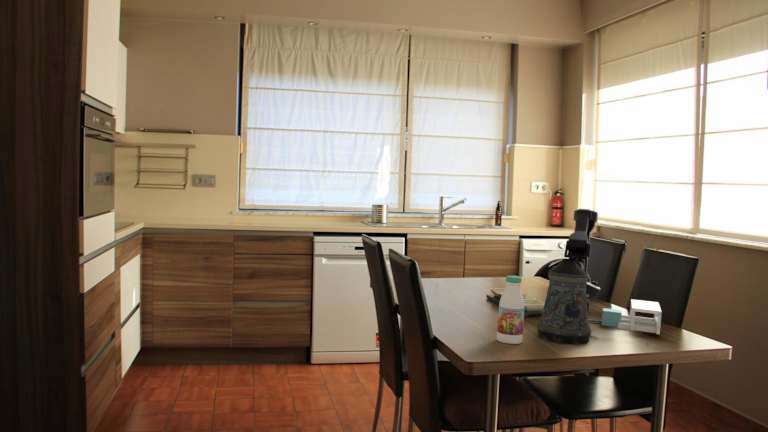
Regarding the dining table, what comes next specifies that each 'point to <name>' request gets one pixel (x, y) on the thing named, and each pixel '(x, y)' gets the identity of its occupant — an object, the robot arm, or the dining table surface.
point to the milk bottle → (511, 312)
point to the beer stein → (566, 306)
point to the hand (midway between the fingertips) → (572, 317)
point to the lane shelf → (642, 322)
